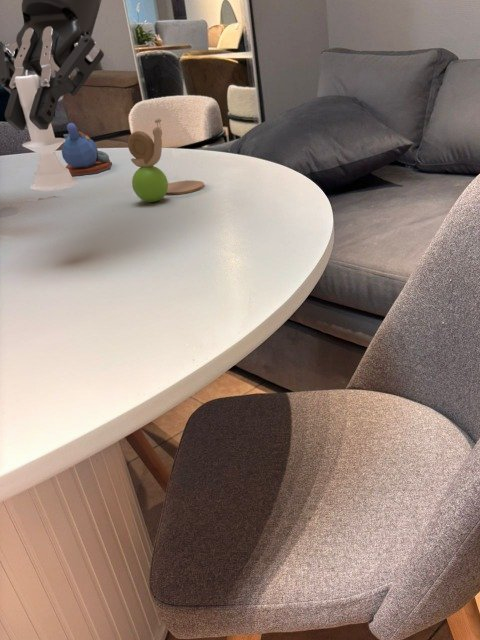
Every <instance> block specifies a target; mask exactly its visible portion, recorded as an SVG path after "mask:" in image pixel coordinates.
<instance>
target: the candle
mask: <svg viewBox="0 0 480 640" xmlns="http://www.w3.org/2000/svg"><path fill="white" fill-rule="evenodd" d="M27 72H28V70H26V76H17V77H15V83H16V87H17V90H18V94H19V99H20V104H21V106H22V108H23V112H24V116H25V119H26V127H27V131H28V134H29V138H30V140H29V141H25V142H23V143H22V144H21V146H22V147H23V148H25V149H28V150H29V151H32V152H34V153H36V154H38V163H37V168H36V171H35V172H34V173H33V174H34V175H33V177H34V183H32V184H31V185H30V189H31V190H32V191H36V192H51V191H57V190H63V189H68V188H71V187H74V186H76V185H78V183H79V180H78V179H77V178H75V177H73V176H71V174H70V172H69V170H68V169H67V168H65V167H66V166H64V165H63V163H62V162H61V160H60V158H59V157H58V155H57V154H56V151H57V150H58V149H59V148H60V147H61V146H63V143H64V142H65V139H64V137H56V136H55V132H54V128H53V126H52V122H51V123H50V124H49V127H48V129H47V130H40V129H39V128H37V127H36V126H35V125H34V124H33V123H32V122H31V121H30V119H29V114H30V111H31V107H32V104H33V101H34V97H35V94H36V93H37V90H38V88H42V86H41V85H40V79H39V76H37V75H29V76H28V75H27Z"/></svg>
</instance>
